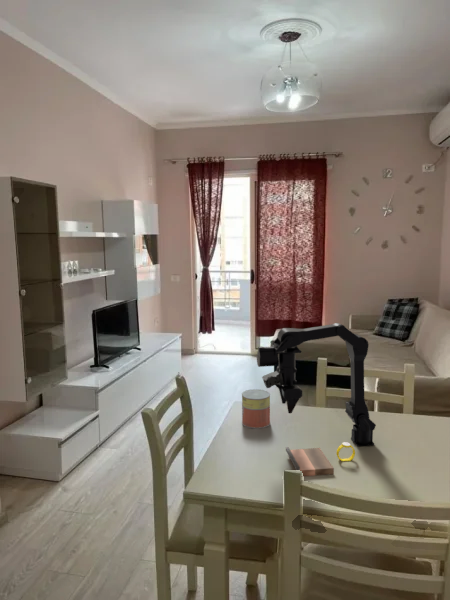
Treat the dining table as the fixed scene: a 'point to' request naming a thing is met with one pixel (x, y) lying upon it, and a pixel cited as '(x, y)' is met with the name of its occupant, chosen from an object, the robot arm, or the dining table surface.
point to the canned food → (255, 408)
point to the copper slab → (310, 461)
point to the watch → (346, 447)
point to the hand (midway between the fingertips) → (286, 408)
